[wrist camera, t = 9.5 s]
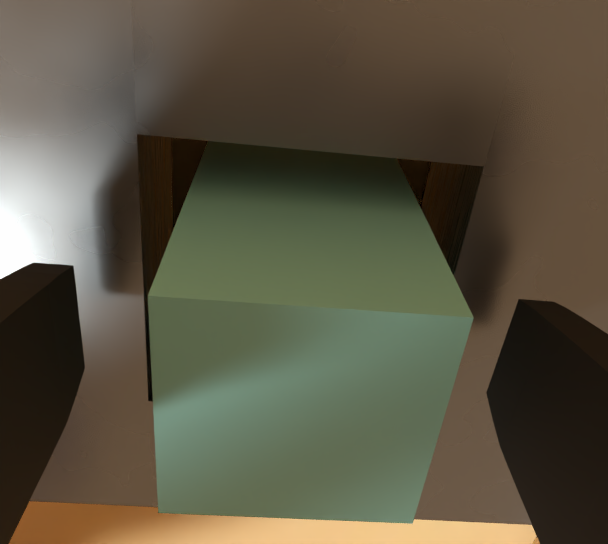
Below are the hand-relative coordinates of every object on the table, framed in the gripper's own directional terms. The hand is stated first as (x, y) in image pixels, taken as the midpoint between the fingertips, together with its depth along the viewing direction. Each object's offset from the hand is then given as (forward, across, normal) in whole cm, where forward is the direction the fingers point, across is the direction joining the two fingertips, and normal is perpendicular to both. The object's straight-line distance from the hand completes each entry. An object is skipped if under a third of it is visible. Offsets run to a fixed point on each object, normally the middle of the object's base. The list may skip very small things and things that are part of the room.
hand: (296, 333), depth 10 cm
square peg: (+4, 0, 0) cm, 4 cm away
